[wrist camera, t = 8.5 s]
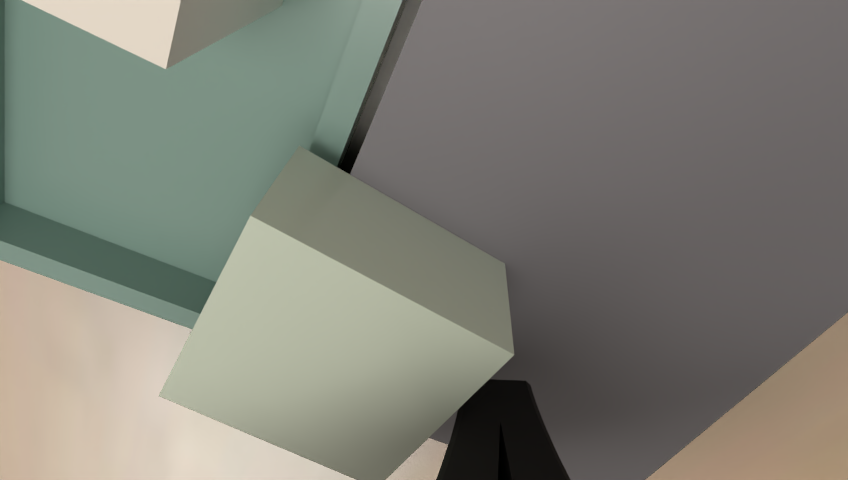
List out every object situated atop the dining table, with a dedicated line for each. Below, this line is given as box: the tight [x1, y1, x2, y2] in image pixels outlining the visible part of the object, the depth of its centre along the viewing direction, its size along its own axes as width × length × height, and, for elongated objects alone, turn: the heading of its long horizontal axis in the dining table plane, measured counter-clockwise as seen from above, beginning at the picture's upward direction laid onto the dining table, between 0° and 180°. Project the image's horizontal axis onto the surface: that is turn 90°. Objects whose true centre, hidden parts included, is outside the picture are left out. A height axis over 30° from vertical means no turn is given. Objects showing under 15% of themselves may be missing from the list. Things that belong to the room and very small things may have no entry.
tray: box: [0, 0, 407, 329], centre depth 10 cm, size 8×14×2 cm, turn 156°
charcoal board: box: [350, 0, 848, 480], centre depth 11 cm, size 10×14×2 cm
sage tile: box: [159, 146, 514, 480], centre depth 10 cm, size 4×4×2 cm
